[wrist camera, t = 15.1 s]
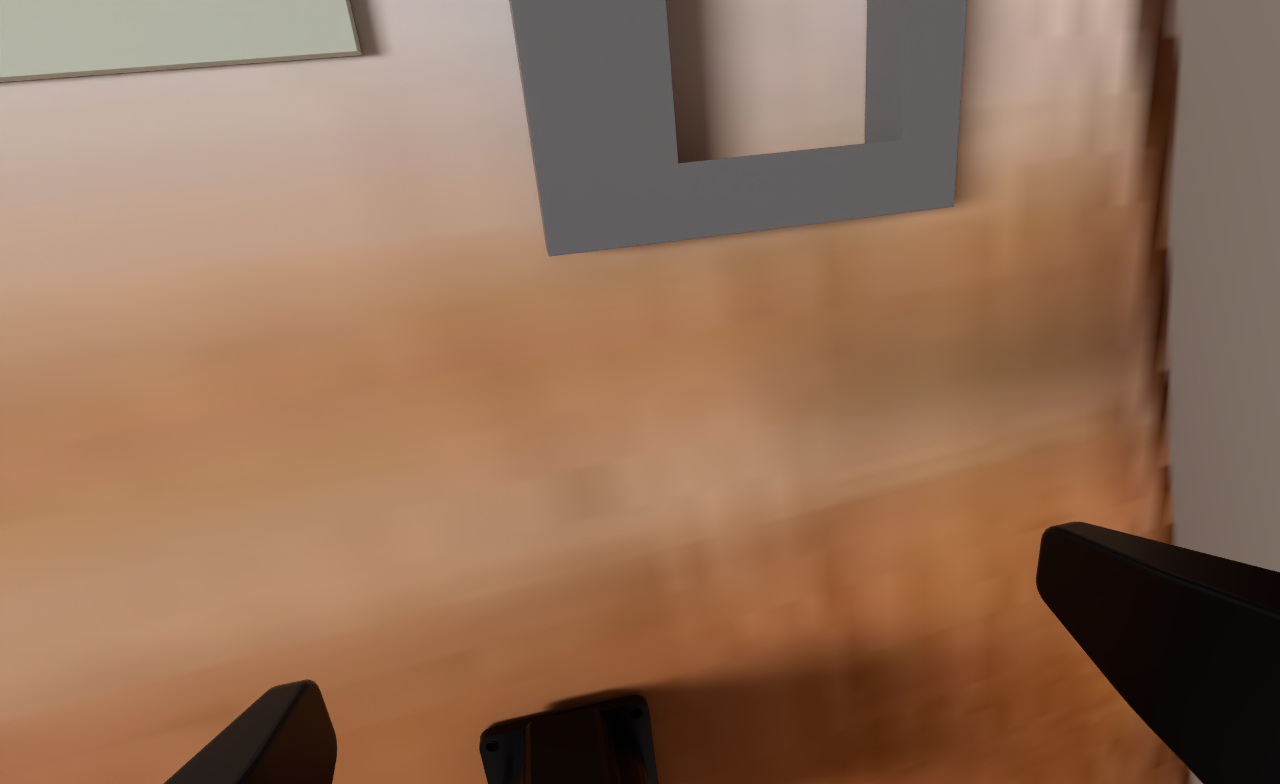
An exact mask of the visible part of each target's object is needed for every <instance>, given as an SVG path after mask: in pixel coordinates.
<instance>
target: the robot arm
mask: <svg viewBox="0 0 1280 784" xmlns="http://www.w3.org/2000/svg"><path fill="white" fill-rule="evenodd" d="M1036 585H1037V589H1038V592H1039V594H1040V596H1041V598H1042V599H1043V601H1044V602H1045V603H1046V604H1047V606H1048V607H1049V608H1050V609H1051V611H1052V612H1053V613H1054V614H1055V616H1056V617H1057V618H1058V619H1059V620H1060V622H1061V623H1062V624H1063V625H1064V627H1065V628H1066V629H1067V630H1068V631H1069V633H1070V634H1071V635H1072V636H1073V638H1074V639H1075V640H1076V641H1077V642H1078V644H1079V645H1080V646H1081V647H1082V649H1083V650H1084V651H1085V652H1086V654H1087V655H1088V656H1089V657H1090V658H1091V660H1092V661H1093V662H1094V663H1095V665H1096V666H1097V667H1098V668H1099V669H1100V671H1101V672H1102V673H1103V674H1104V676H1105V677H1106V678H1107V679H1108V680H1109V682H1110V683H1111V684H1112V685H1113V687H1114V688H1115V689H1116V690H1117V691H1118V693H1119V694H1120V695H1121V696H1122V697H1123V698H1124V700H1125V701H1126V702H1127V703H1128V704H1129V706H1130V707H1131V708H1132V709H1133V710H1134V711H1135V712H1136V713H1137V714H1138V715H1139V716H1140V718H1141V719H1142V720H1143V721H1144V722H1145V723H1146V724H1147V725H1148V726H1149V727H1150V728H1151V729H1152V730H1153V732H1154V733H1155V734H1156V735H1157V736H1158V737H1159V738H1160V739H1161V740H1162V741H1163V742H1164V743H1165V744H1166V745H1167V746H1168V747H1169V748H1170V749H1171V750H1172V751H1173V752H1174V754H1175V755H1176V756H1177V757H1178V758H1179V759H1180V760H1181V761H1182V762H1183V763H1184V764H1185V765H1186V766H1187V767H1188V768H1189V769H1190V770H1191V771H1192V772H1193V773H1194V774H1195V776H1196V777H1197V778H1198V779H1199V780H1200V781H1201V782H1202V783H1203V784H1280V572H1276V571H1272V570H1268V569H1264V568H1260V567H1257V566H1252V565H1249V564H1245V563H1241V562H1237V561H1233V560H1229V559H1225V558H1221V557H1217V556H1213V555H1210V554H1205V553H1201V552H1198V551H1193V550H1190V549H1186V548H1182V547H1178V546H1174V545H1170V544H1166V543H1162V542H1159V541H1155V540H1151V539H1147V538H1143V537H1139V536H1135V535H1131V534H1127V533H1123V532H1119V531H1115V530H1111V529H1108V528H1104V527H1100V526H1096V525H1092V524H1088V523H1084V522H1070V523H1065V524H1060V525H1055V526H1051V527H1049V528H1047V529H1046V530H1045V532H1044V533H1043V535H1042V538H1041V544H1040V552H1039V559H1038V567H1037V574H1036ZM635 708H639V709H637V710H633V709H635ZM491 741H496V742H495V743H490V742H491ZM479 750H480V754H481V758H482V762H483V766H484V770H485V774H486V778H487V782H488V784H658V779H657V771H656V763H655V756H654V748H653V740H652V732H651V724H650V716H649V709H648V705H647V702H646V699H645V698H644V697H642V696H639V695H633V696H629V697H624V698H620V699H616V700H611V701H607V702H602V703H598V704H593V705H589V706H585V707H580V708H576V709H571V710H567V711H562V712H558V713H554V714H549V715H545V716H540V717H536V718H532V719H527V720H523V721H518V722H514V723H509V724H505V725H501V726H496V727H492V728H489V729H486V730H485V731H484V732H483V733H482V734H481V736H480V746H479ZM336 757H337V740H336V734H335V731H334V728H333V725H332V722H331V720H330V717H329V714H328V711H327V708H326V705H325V702H324V700H323V697H322V694H321V691H320V689H319V687H318V685H317V684H316V683H315V682H314V681H312V680H301V681H297V682H292V683H287V684H282V685H278V686H275V687H273V688H271V689H269V690H268V691H267V692H265V693H264V694H263V695H262V696H261V697H260V698H259V699H258V700H256V701H255V702H254V703H253V704H252V705H251V706H250V707H249V708H248V709H246V710H245V711H244V712H243V713H242V714H241V715H240V716H239V717H237V718H236V719H235V720H234V721H233V722H232V723H231V724H230V725H229V726H227V727H226V728H225V729H224V730H223V731H222V732H221V733H220V734H218V735H217V736H216V737H215V738H214V739H213V740H212V741H211V742H210V743H208V744H207V745H206V746H205V747H204V748H203V749H202V750H201V751H199V752H198V753H197V754H196V755H195V756H194V757H193V758H192V759H191V760H189V761H188V762H187V763H186V764H185V765H184V766H183V767H182V768H180V769H179V770H178V771H177V772H176V773H175V774H174V775H173V776H172V777H170V778H169V779H168V780H167V781H166V782H165V783H164V784H332V781H333V775H334V769H335V763H336Z"/></svg>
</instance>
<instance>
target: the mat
mask: <svg viewBox="0 0 1280 784" xmlns="http://www.w3.org/2000/svg"><path fill="white" fill-rule="evenodd" d="M357 55H362V53H361V48H360V44H359V39H358V35H357V31H356V26H355V22H354V17H353V13H352V8H351V4H350V0H0V82H10V81H24V80H37V79H50V78H64V77H77V76H90V75H104V74H117V73H130V72H144V71H157V70H170V69H184V68H197V67H211V66H224V65H237V64H251V63H264V62H277V61H291V60H304V59H317V58H331V57H344V56H357Z"/></svg>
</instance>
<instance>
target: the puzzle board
mask: <svg viewBox="0 0 1280 784" xmlns="http://www.w3.org/2000/svg"><path fill="white" fill-rule="evenodd" d="M509 1H510V8H511V15H512V21H513V28H514V35H515V41H516V48H517V55H518V61H519V68H520V75H521V81H522V88H523V95H524V101H525V108H526V115H527V121H528V128H529V135H530V141H531V148H532V155H533V162H534V168H535V175H536V182H537V188H538V195H539V202H540V208H541V215H542V222H543V228H544V235H545V242H546V248H547V252H548V254H549V256H557V255H565V254H573V253H582V252H590V251H598V250H606V249H614V248H622V247H630V246H638V245H646V244H655V243H663V242H671V241H679V240H687V239H695V238H703V237H711V236H719V235H728V234H736V233H744V232H752V231H760V230H768V229H776V228H784V227H792V226H801V225H809V224H817V223H825V222H833V221H841V220H849V219H857V218H866V217H874V216H882V215H890V214H898V213H906V212H914V211H922V210H930V209H939V208H947V207H954V195H955V180H956V164H957V149H958V133H959V118H960V102H961V86H962V71H963V55H964V40H965V24H966V9H967V0H867V50H866V107H865V144H857V145H848V146H838V147H829V148H819V149H810V150H800V151H791V152H781V153H772V154H762V155H753V156H743V157H734V158H724V159H715V160H705V161H696V162H686V163H678V154H677V141H676V128H675V115H674V102H673V88H672V75H671V62H670V49H669V36H668V23H667V10H666V0H509Z"/></svg>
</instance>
